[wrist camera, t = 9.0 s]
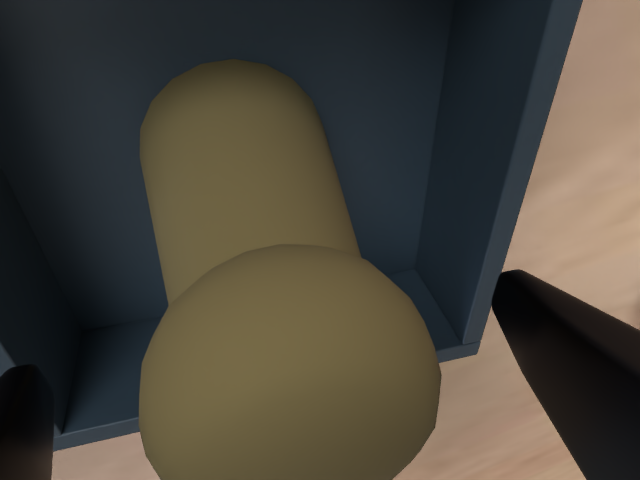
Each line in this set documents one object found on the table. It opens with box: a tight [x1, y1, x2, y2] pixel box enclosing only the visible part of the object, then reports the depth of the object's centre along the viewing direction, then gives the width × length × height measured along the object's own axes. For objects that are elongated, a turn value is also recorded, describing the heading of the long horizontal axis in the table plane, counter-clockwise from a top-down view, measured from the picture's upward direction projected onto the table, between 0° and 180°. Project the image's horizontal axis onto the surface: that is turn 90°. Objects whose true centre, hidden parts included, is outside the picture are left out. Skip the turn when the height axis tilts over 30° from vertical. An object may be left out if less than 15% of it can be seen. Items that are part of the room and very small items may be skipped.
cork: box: [139, 59, 441, 480], centre depth 11 cm, size 6×6×11 cm
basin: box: [0, 0, 583, 451], centre depth 14 cm, size 16×16×5 cm
